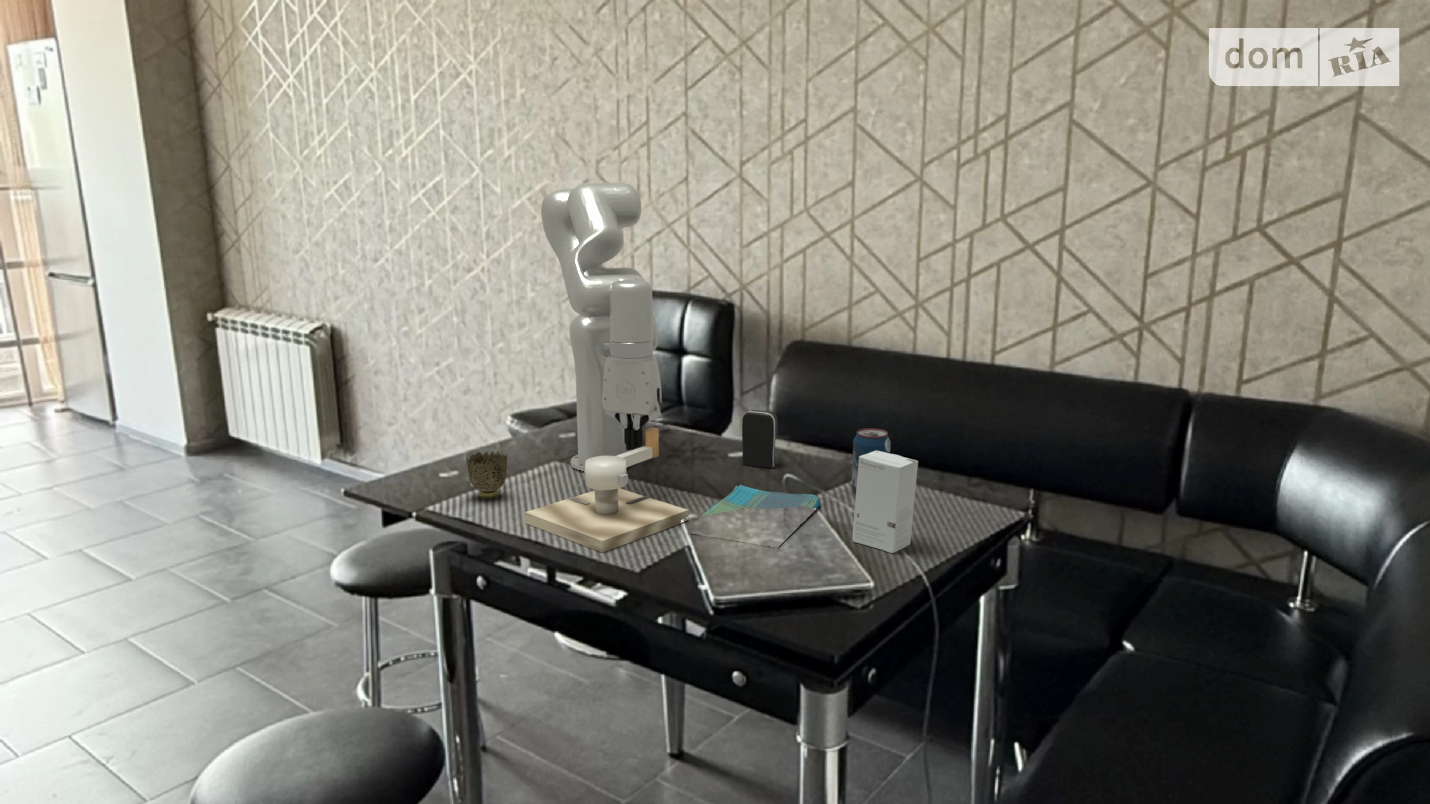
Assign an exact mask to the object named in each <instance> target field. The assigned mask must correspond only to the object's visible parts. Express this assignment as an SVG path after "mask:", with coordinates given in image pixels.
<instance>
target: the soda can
mask: <svg viewBox="0 0 1430 804" xmlns="http://www.w3.org/2000/svg"><path fill="white" fill-rule="evenodd" d="M888 435H889V432H888V430H887V431H886V430H885V429H880V428H872V427H871V428H866V427H865V428H861V429H858V430H857V431H856V435H855V437H854V438H853V440H852V444H853V445H852V465H851V466H852V467H851V468H852V469H851V473H852V474H851V488H852V490H853V492H854V493H855V495H856V487H857V476H858V464H859V456H862V455H865V454H868V453H870V452H873V451H881V452H885V453H889V454H891V444H892V443H891V442H892V441H891V440H890V438H889V436H888Z"/></svg>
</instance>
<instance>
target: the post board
mask: <svg viewBox="0 0 1430 804" xmlns="http://www.w3.org/2000/svg"><path fill="white" fill-rule="evenodd" d="M685 517H688V518H689V510H688V509H687V508H683V507H680V506H677V505H674V504H670V503H668V502H664V501H662V500H661V501H660V500H658V499H655V498H652V497H651V496H649V495H641V494H639V493H636V492H633V491H629V490H627V489H624V488H623V489H622V488H618V489H613V490H596V489H594V490H592V491H589V492H586V493H582V494H579V495H576V496H570V497H567V498H566V499H563V500H560V501H556V502H553V503H550V504H546V505H544V506H540V507H537V508H534V509H531V510H528V511H524V524H526V525H529V526H532V527H534V528H537V529H539V530H542V531H545V532H548V533H550V534H551V535H554V536H555V535H556V536H558V537H560V538H563V539H566V540H568V541H571V542H573V543H576V544H579V545H582V546H584V547H587V548H589V549H593V550H594V551H598V552H600V553H605V552H609V551H611V550H613V549H616V548H618V547H621V546H624V545H627V544H629V543H630V544H631V543H632V542H636V541H638V540H639V539H642V538H646V537H648V536H651V535H654V534H656V533H659V532H663V531H665V530H667V528H668V529H670V528H672V527H673V528H674V527H675V525H676V526H678V525H680V524H679V523H680V522H681V520H682V519H683V518H685Z"/></svg>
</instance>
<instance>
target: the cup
mask: <svg viewBox="0 0 1430 804" xmlns="http://www.w3.org/2000/svg"><path fill="white" fill-rule="evenodd" d="M465 459H466V464H467V465H466V466H467V470H468V476H469V480H470V483H471V485H472V486H473V487H472V488H474V489H475V490H477V491H478V495H479V497H480V499H482V498H484V499H483V500H491V499H490V498H494V499H496V498H498V496H499V493H500V491H499V489H501V488H502V487H503V486H504V484H505V482H506V478H507V467H508V453H506V454H505V452H502V454H501V453H500V452H499V451H498V450H497V451H496V452H495V451H494V450H492V451H491V452H490V453H489V451H488V450H486V451H485V452H484V454H483V453H482V452H480V451H477V452H475V453H474V454H473V453H470V454H469V458H468V457H466V458H465Z"/></svg>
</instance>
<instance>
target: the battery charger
mask: <svg viewBox="0 0 1430 804" xmlns="http://www.w3.org/2000/svg"><path fill="white" fill-rule="evenodd" d="M741 421H742V422H741V423H742V424H741V441H742V443H741V444H742V461H741V462H742V465H745V466H750V467H758V468H767V469H771V468H772V469H773V468H774V467H775V465H776V456H775V455H776V454H775V451H776V439H777V437H778V430H779V429H778V428H779V427H778V417H777V415H776V413H775V412H772V411H769V410H759V409H751V410H749V411H746V412H745V413H744V414H743V416H742V419H741Z"/></svg>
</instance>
